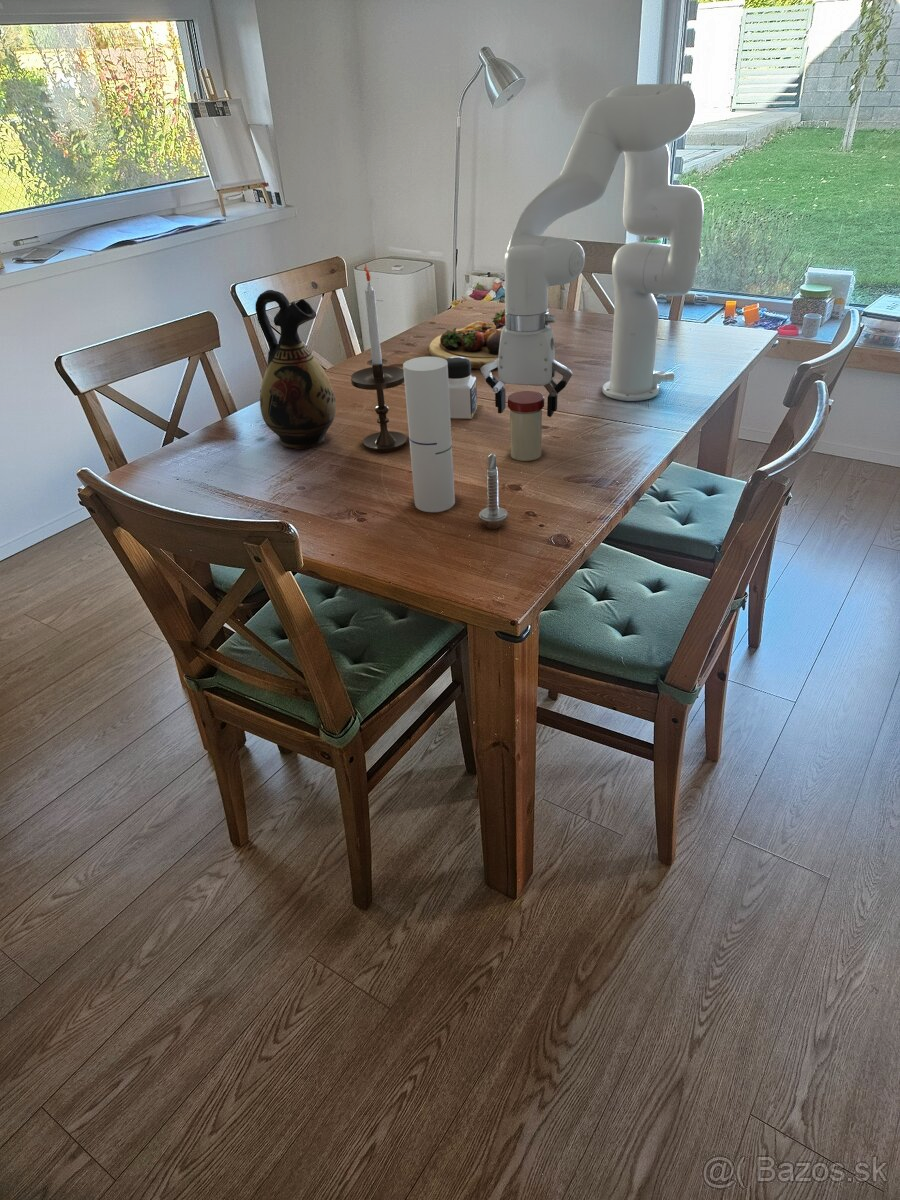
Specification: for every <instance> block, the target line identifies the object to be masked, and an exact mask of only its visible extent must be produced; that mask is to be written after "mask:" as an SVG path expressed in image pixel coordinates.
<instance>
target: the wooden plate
mask: <svg viewBox="0 0 900 1200" xmlns="http://www.w3.org/2000/svg"><path fill="white" fill-rule="evenodd" d="M491 320H492V323H490V322H486V321H482V320H477V321H473V322H472V323H469V324H468V325H465V327H463V328H457V327H455V328H453V329H452V330H449V329H447V330H446V331H444V332H443V333H441V334H439V335H437V336H436V337H435V338H434V339H432V341H431V342H430V344H429V346H428V350H429V354H430V356H431V357H439V358H443V359H445V360H446V359H448V358H450V357H457V356H459V357H465V358H467V359H469V360H470V361H471V369H480V370H481V368H482V366H484V365H486V364H488V363H490V362H492V361H494V360H496V359H498V356H499V345H500V337H501V332H502V328H503V327H504V326H505V308H504V309H501V310H500V313H499V312H497V311H496V313H495V314H494V316H493V317H492V318H491ZM496 369H498V367H497V368H496Z"/></svg>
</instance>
